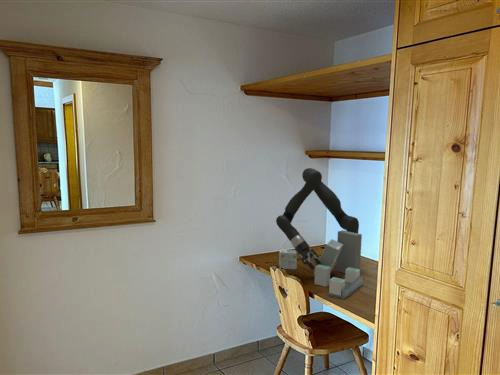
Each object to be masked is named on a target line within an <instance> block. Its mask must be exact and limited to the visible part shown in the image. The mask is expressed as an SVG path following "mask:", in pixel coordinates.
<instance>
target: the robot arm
mask: <svg viewBox="0 0 500 375" xmlns="http://www.w3.org/2000/svg"><path fill="white" fill-rule="evenodd" d="M301 176H302V180H303V181H304V182H305V183H304V185H303V187H302V188H300V190H299V191H298V192H296V193H295V194H294V195H293V196H292V197H291V198H290V200H289V201H288V202H287V204H286V206H285V207H284V212H283V213H282V214H280V215H278V216H277V217H276V218H275V219H276V220H275V222H276V225H277V226H278V228H279V229H280V230H281V231H282V232H283V234H284V235H285V236H286V237H287V239H288V241H289V242H290V243H291V245H292V247H293V248H294V250H296V252H297V254H298V255H299V256H298V257H299V259H300V260H301V262H302V263H303V264H304V265H305V266H308V267H309V268H310V270H311V271H313V270H315V266H314V265H313V263H312V262H311V260H312V261H314V262H315V264H316V266H317V265H322V264H321V263H320V261H319V260H320V259H319V258H320V256H319V255H318V253H317V252H316V250H314V249H313V248H311V249H310V245H309V243H308V242H307V241H306V239H305V238H304V236H302V235H301V233H300V232H299V231H298V230H297V228H296V227H294V225H292V222H293V219H294V218H295V215H296V214H297V212H298V211H299V209H300V208H301V206H302V205H303V203H304V202H305V201H306V199H307V198H308V197H309V196H310V195H311V194H312V192H314V193H315V195H316V196H317V198H319V200H320V201H321V203H322V204H323V206H324V207H325V208H326V209H327V210H328V211H329V213H330V214H331V215H332V216H333V217H334V219H335V220H336V222H337V223H338V225H339V227H340V228H342V230H344V231H348V232H353V233H358V234H359V227H360V223H359V220H358V218H356V217H355V216H352V215H351V216H350V215H348V214H347V213H346V212H345V211H344V209H343V208H342V203H341V200H340V198H339V197H338V196H337V195H336V193H335V192H334V191H333V190H332V189H330V188H329V187H328V186H327V185H326V184H324V182H323V181H322V179H323V175H322V173H321V172H320V171H319V170H317V169H315V168H310V167H309V168H305V169H304V170H303V171H302V175H301Z"/></svg>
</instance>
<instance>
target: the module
mask: <svg viewBox="0 0 500 375" xmlns="http://www.w3.org/2000/svg"><path fill="white" fill-rule="evenodd" d="M314 267H315V268H314V271H315V274H314V279H313V280H314V283H313V284H314V285H317V286H321V287H324V288H325V287H326V288H327V287H328V286H329V284H330V279H331V273H330V267H328V266H324V265H317V264H316V265H315V266H314Z"/></svg>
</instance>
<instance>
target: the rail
mask: <svg viewBox="0 0 500 375" xmlns="http://www.w3.org/2000/svg"><path fill="white" fill-rule="evenodd" d="M363 278H364V277H363V276H360V277H359V278H358V279H357V280H356V281H354V282H353V283H349V282H345V289H343V290H342V295H341V296H340V295H336V294H333V293H329V291H328V292H327V296H330V297H334V298H338V299H341V300H345V299H347V298H348V297H349V296H351V295H352V294H353V293H354V292H356V291H357V290H358V289H359V288H360V287H362V286H363V282H364V281H363V280H364V279H363Z"/></svg>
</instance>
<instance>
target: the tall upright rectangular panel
mask: <svg viewBox="0 0 500 375" xmlns="http://www.w3.org/2000/svg"><path fill="white" fill-rule="evenodd" d="M362 236H363V234H362V233H359V232H358V233H353V232H348V231H346V230H344V229H342V230H338V231H337V238H336V241H337V242H339V243H341V244H343V246H342V249H341V251H340V253H339V255H338V258H337V260H336V262H335V264H336V266H335V271H336V272H340V273H343V274H345V271H346V269H347V268H349V267H350V268H355V269H360V270H361V256H362V253H361V252H362ZM360 275H361V272H360Z"/></svg>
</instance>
